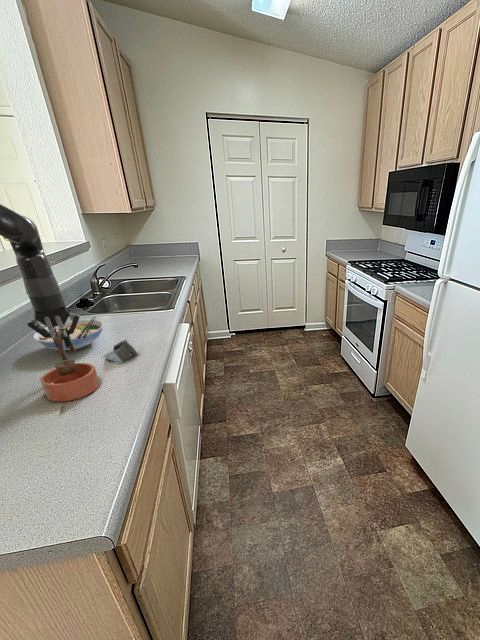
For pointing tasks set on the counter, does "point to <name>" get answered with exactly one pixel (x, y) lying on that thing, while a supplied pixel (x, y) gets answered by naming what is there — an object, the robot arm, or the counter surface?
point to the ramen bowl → (75, 334)
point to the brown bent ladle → (64, 357)
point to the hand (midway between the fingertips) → (64, 347)
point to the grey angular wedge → (122, 352)
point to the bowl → (70, 383)
